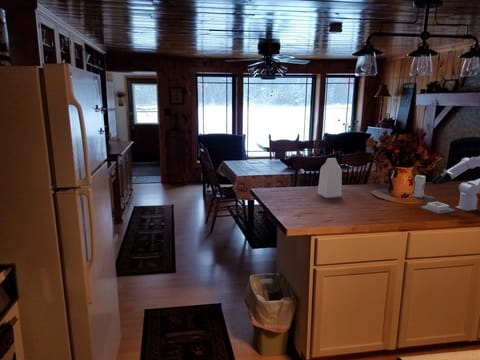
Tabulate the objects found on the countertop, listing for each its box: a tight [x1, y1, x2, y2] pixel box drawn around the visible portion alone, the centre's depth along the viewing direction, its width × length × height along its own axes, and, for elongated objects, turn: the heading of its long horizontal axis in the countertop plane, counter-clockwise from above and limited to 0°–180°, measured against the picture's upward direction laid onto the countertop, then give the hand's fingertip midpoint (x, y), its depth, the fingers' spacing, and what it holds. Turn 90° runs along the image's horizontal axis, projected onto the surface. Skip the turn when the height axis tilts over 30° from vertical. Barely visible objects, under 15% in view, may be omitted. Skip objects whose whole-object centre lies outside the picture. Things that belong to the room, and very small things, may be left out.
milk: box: [317, 157, 343, 199], centre depth 254 cm, size 12×12×26 cm
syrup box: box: [412, 174, 426, 199], centre depth 252 cm, size 6×6×14 cm
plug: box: [424, 195, 436, 206], centre depth 234 cm, size 4×4×5 cm
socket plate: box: [420, 201, 456, 215], centre depth 223 cm, size 13×13×4 cm
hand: (435, 183), depth 221 cm, fingers open, 7 cm apart
